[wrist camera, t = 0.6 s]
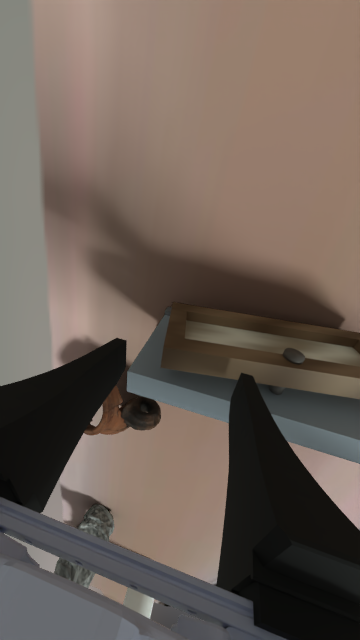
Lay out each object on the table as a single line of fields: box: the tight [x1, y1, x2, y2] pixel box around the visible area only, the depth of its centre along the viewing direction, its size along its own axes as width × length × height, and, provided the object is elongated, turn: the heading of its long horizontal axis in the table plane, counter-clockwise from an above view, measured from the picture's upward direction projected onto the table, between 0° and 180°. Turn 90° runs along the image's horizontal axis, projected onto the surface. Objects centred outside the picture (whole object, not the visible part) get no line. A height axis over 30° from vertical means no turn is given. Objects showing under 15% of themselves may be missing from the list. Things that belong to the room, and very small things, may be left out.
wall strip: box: [127, 307, 360, 464], centre depth 18 cm, size 20×5×10 cm, turn 81°
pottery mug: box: [84, 385, 161, 435], centre depth 27 cm, size 12×10×8 cm
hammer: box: [54, 504, 114, 588], centre depth 56 cm, size 15×10×30 cm
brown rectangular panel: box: [160, 302, 360, 399], centre depth 16 cm, size 16×3×6 cm, turn 81°
